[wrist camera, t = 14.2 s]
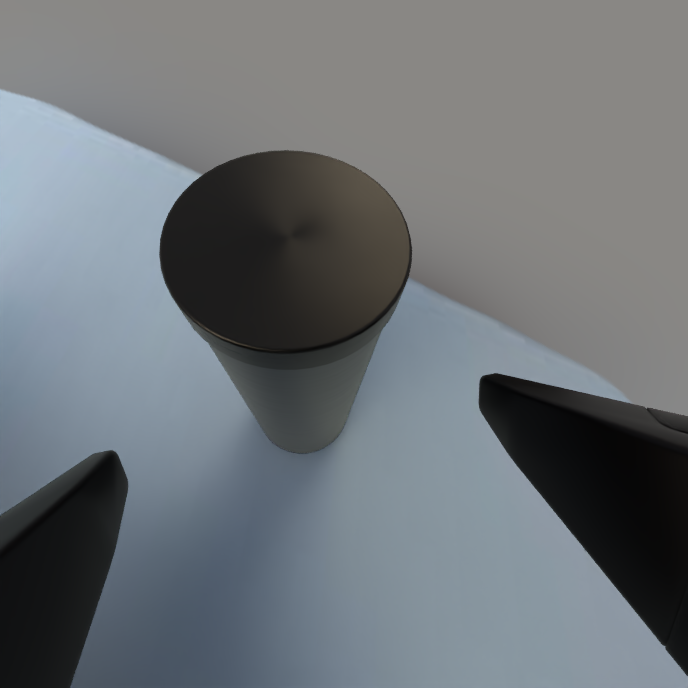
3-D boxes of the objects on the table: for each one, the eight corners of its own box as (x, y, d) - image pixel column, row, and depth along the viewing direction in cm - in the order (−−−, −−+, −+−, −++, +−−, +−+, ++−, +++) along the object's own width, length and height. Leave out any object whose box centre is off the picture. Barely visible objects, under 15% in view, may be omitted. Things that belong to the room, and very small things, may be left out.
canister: (359, 444, 18) (445, 327, 6) (262, 465, 17) (161, 375, 6) (339, 357, 20) (378, 140, 8) (250, 372, 19) (155, 158, 7)
